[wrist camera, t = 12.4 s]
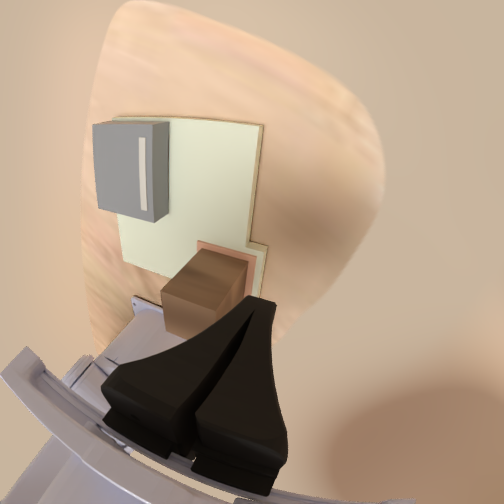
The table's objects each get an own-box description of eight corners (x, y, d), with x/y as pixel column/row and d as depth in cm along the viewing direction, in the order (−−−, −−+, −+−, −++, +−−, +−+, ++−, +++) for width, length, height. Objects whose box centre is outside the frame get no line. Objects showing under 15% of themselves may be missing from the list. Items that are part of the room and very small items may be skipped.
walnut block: (243, 300, 24) (214, 350, 19) (201, 286, 24) (165, 331, 20) (248, 261, 21) (215, 311, 17) (201, 247, 22) (160, 290, 17)
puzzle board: (259, 299, 25) (254, 307, 24) (129, 256, 28) (122, 261, 27) (285, 129, 17) (281, 130, 16) (119, 116, 20) (110, 118, 19)
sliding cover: (168, 213, 22) (153, 223, 20) (113, 200, 23) (97, 208, 22) (169, 121, 18) (151, 124, 16) (109, 121, 19) (91, 124, 18)
